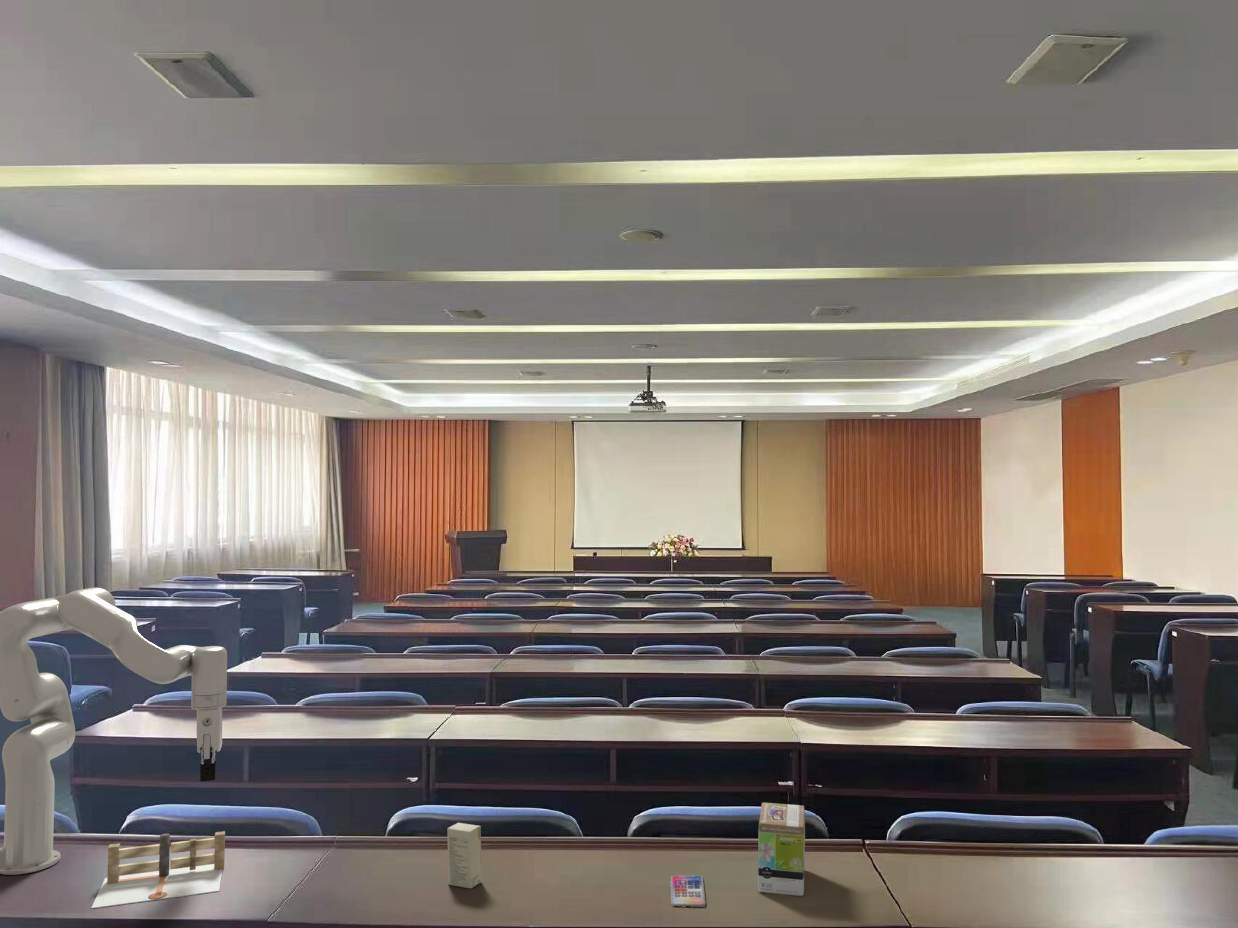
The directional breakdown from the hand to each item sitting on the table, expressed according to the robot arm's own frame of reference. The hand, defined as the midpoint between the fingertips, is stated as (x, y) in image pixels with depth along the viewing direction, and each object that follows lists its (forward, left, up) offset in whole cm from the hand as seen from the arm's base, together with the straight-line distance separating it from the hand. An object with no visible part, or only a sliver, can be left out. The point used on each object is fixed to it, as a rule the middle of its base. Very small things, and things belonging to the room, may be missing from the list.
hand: (207, 779), depth 211 cm
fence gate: (-1, -6, -18) cm, 19 cm away
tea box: (+120, -56, -19) cm, 134 cm away
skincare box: (+54, -33, -19) cm, 66 cm away
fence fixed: (-13, -6, -19) cm, 24 cm away
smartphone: (+98, -54, -19) cm, 113 cm away
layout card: (-8, -11, -19) cm, 23 cm away
